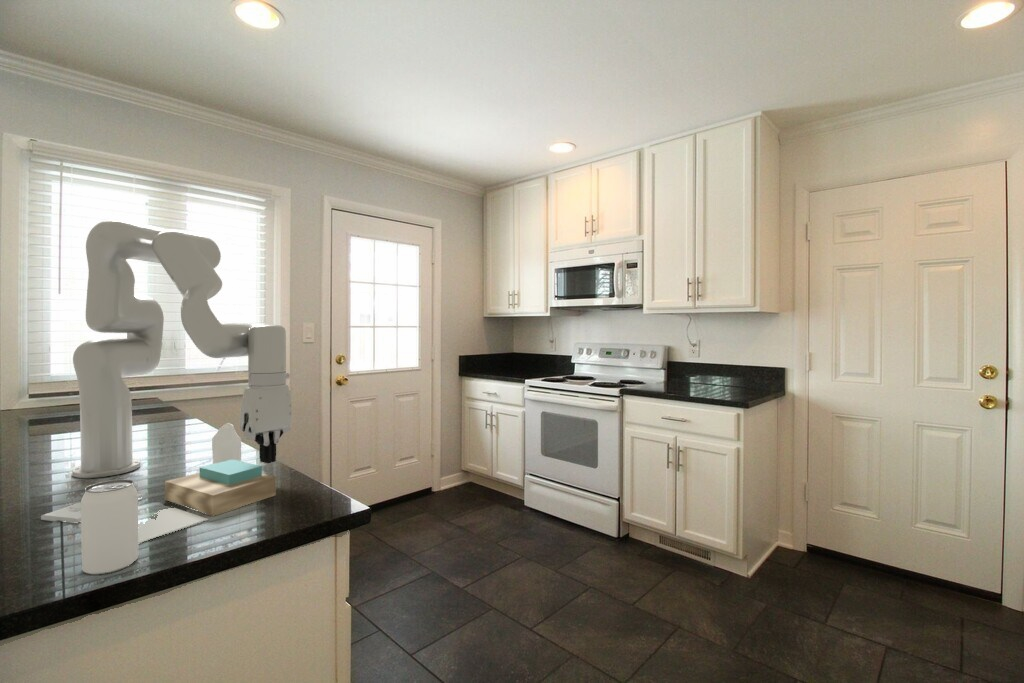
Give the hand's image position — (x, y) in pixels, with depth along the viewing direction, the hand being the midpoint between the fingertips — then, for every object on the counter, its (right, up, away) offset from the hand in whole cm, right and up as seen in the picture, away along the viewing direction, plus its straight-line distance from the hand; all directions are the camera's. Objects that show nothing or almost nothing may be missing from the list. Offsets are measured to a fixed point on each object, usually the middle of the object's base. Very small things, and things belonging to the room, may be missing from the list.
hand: (268, 461), depth 109 cm
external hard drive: (-25, -6, -16) cm, 30 cm away
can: (-5, -7, -37) cm, 38 cm away
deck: (-5, -5, -9) cm, 12 cm away
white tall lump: (-13, -5, +7) cm, 16 cm away
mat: (-11, -6, -21) cm, 25 cm away
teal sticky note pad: (-4, -1, -8) cm, 9 cm away
